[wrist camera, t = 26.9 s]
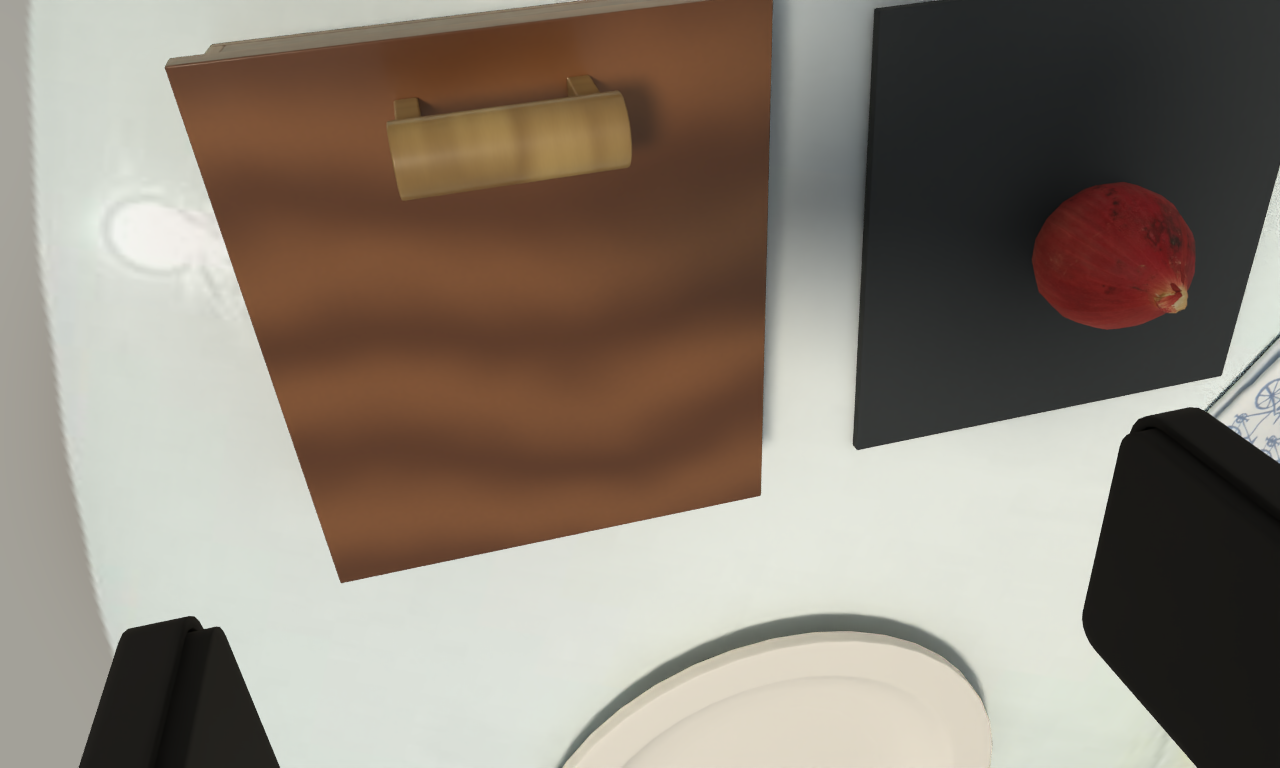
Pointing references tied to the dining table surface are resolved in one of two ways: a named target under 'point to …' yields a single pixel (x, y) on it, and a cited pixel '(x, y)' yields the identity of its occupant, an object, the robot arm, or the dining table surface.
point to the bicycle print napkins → (1255, 404)
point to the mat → (1050, 195)
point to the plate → (802, 710)
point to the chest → (412, 25)
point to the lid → (502, 267)
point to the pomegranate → (1115, 257)
